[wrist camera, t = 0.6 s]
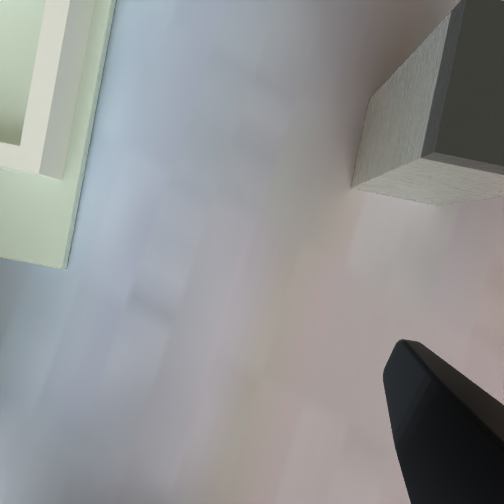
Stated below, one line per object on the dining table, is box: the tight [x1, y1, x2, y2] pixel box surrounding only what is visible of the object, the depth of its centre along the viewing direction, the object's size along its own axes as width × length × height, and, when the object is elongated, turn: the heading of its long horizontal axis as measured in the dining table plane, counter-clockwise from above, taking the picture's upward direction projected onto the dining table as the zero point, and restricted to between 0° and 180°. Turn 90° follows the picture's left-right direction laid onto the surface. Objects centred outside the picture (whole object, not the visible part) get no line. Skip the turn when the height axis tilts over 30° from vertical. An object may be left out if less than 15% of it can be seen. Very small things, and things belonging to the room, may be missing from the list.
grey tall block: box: [351, 0, 504, 206], centre depth 18 cm, size 4×4×10 cm
